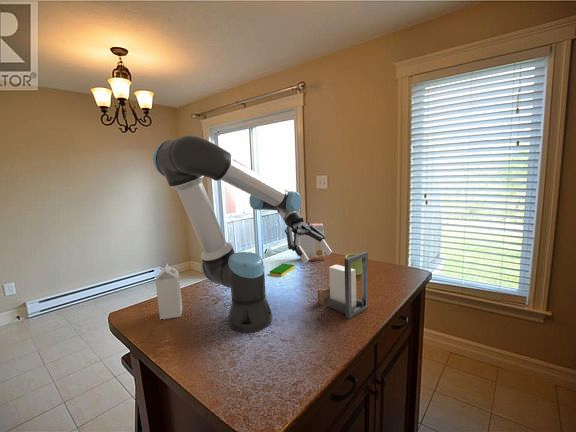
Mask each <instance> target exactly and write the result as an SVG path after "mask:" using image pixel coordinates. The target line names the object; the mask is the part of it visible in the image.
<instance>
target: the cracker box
mask: <svg viewBox="0 0 576 432" xmlns="http://www.w3.org/2000/svg"><path fill="white" fill-rule="evenodd" d="M312 225H313V226H315V227H316V228H317V229H318V230H320V231H321V232H322V233H324V234H325V232H324V224H323V223H312ZM307 231H308V230H307ZM319 243H320V242H319V241H317V240H316V239H314V238H312V237H310V236H308V235H301V236H299V246H301V248H302V249H303V251H304V252H305V254H306V255H307V257H308V258H309V260H308V261H307V262H309V261H310V262H311V261H315V262H318V261H325V260H326V259H325V254H326V253H325V251H324V250H323V248H322V247H321V245H320V244H319ZM300 262H303V261H302V259H301V258H300Z"/></svg>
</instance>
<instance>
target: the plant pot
mask: <svg viewBox="0 0 576 432" xmlns="http://www.w3.org/2000/svg"><path fill="white" fill-rule="evenodd" d="M356 254H357V253H348V254H346V255H345V259H346V258H348V257H351V256H354V255H356ZM351 268H352V269H355V270H356V276H360V275H361V276H362V259H360V260H357V261H355V262H352V263H351Z"/></svg>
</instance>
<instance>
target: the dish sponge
mask: <svg viewBox="0 0 576 432" xmlns="http://www.w3.org/2000/svg"><path fill="white" fill-rule="evenodd" d="M294 269H295V264H290V263H281V264H279V265H278V266H276V267H273V269H270V270H269V271H268V272H269V276H274V277H280V278H282V277H284V276H285V275H287V274H288V273H289V272H291V271H292V270H294Z"/></svg>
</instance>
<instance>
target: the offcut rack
mask: <svg viewBox="0 0 576 432" xmlns="http://www.w3.org/2000/svg"><path fill="white" fill-rule="evenodd" d="M368 253H369V252H368V251H362V252H360V253H355V254H356V255H354V256H351V257H348V258H346V257H345V258H344V261H343V262H344V267H345V304H343V303H341V302H338V301H335V300H333V299H330V298H328V299H327V304H326V307H328V308H331V309H333V310H335V311H338V312H340V313H343V314H345V319H348V320H350V319H352V318H353V317H355V316H357V315H358V314H360V313H362V312H363V311H364V310H366V309H368V308H369V264H368V263H369V258H368V257H369V255H368ZM360 259H362V274H361V298H362V299H359V298H356V308H354V309H353V307H352V297H351V263H352V262H355V261H357V260H360Z"/></svg>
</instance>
